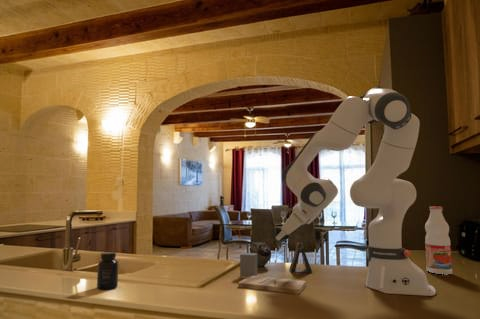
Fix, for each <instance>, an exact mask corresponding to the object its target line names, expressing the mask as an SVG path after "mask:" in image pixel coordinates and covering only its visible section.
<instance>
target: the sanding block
mask: <svg viewBox="0 0 480 319" xmlns="http://www.w3.org/2000/svg"><path fill="white" fill-rule="evenodd" d="M239 257H240V258H239V278H243V279H245V278H247V277H248V276H258V270H257V253H250V252H242V253H240V255H239Z"/></svg>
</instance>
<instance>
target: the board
mask: <svg viewBox="0 0 480 319" xmlns="http://www.w3.org/2000/svg"><path fill="white" fill-rule="evenodd" d="M237 284H238V285H237V288H243V289H251V290H262V291H269V292H277V291H278V292H280V293H288V294H297V295H298V294H299V295H300V294H301V293H302V291H303V290H304V289H305V288H306V286H307V285H308V284H307V280H300V279H289V278H278V277H271V276H270V277H269V276H259V275H257V276H248V277H247V278H243V279H242V280H240V281H239V282H237ZM278 292H277V293H278Z"/></svg>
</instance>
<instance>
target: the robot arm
mask: <svg viewBox="0 0 480 319" xmlns="http://www.w3.org/2000/svg"><path fill="white" fill-rule="evenodd" d="M410 105H411V104H410V102H409V100H408V99H407V98H406V96H405V95H404V94H402V93H399V92H398V91H396V90H393V89H391V88H385V87H378V86H377V87H374V88H371V89H370V90H368V91H367V92H365V93H364V94H362V95H360V96H359V97H358V96H352V95H351V96H348V97H346V98H345V99H344V100H343V101H342V102H341V103H340V104H339V106H338V107H337V108H336V110H334V112H333V114H332V115H331V117H330V118H329V120H328V122H327V123H326V125H325V126H323V128H321V130H317V131H316V132H315V133H313V134H312V136H311V137H310V138H309V139H308V140H307V142H306V143H305V144H304V145H303V147H302V148H301V150H300V151H299V152H298V154H297V155H296V156H295V157H294V159H293V160H292V161H291V162H290V163H289V164H288V165H287V166H286V167H285V168H284V169H283V171H282V174H281V181H282V183H283V185H285V186H286V187H287V188H288V189H290V191H291V192H292V193H293V194H294V195H295V197H297V198H298V200H299V201H298V202H297V203H296V204H295V205H294V206H293V207H292V213H291V214H290V215H289V217H288V218H287V220H286V221H285V222H284V223H283V224H282V226H280V231H279V233H278V234H277V235H276V236H275V239H276V241H278V242H279V241H280V240H281V239H283V238H284V237H285V236H289V235H290V234H292V233H293V232H294V231H295V230H297V229H298V228H299V227H300V226H303V225H306V224H307V225H310V224H311V223H312V222H313V221H314V220H316V218H317V217H318V216H319V215H320V213H321V211H323V210H324V209H325V210H326V209H327V207H328V206H330V204H331V203H332V202H333V201H334V200H335V199H336V197H337V196H338V193H339V189H338V187H337V186H336V184H335V183H334V182H333V181H332V180H331V179H330V178H327V177H324V178H323V179H322V178H318V177H317V178H316V177H314V176H313V175H312V174H311V173H310V172H309V171H308V168H309V166H310V165H311V163H312V162H313V160H314V159H315V158H316V157H317V156H318V154H319V153H320V152H321V151H323V150H328V151H334V152H341V151H346V150H347V149H349V148H350V147H351V146H353V144H354V142H356V140H357V138H358V136H359V134H360V133H361V132H362V129H363V128H364V127H365V126H366V124H367V123H369V122H371V121H373V120H374V121H376V122H379V123H381V124H382V125H384V133H383V134H382V135H383V136H382V138H381V141H380V145H379V148H378V150H377V151H378V152H377V154H376V157H375V160H374V161H373V163H372V164H371V166H370V167H369V168H368V170H367V171H366V172H365V174H364V175H362V176H361V177H360V178H357V179H356V180H354V181H353V183H352V184H351V186H350V189H349V197H350V199H351V201H352V203H353V204H354V205H356V207H361V208H365V209H378V213H377V216H376V217H375V218H373V219H372V220H371V221H370V222H369V224H368V230H367V231H368V246H367V249H366V251H367V260H368V268H367V276H366V281H365V286H366V287H367V288H370V289H372V290H375V291H379V292H381V293H382V294H383V293H384V294H390V295H391V294H392V295H412V296H424V297H425V296H430V297H431V296H435V295H436V293H437V291H436V289H435V287H434V286H433V285H431V284H430V283H429V281H428V277H427V275H426V273H425V271H424V270H423V269H422V268H420V267H419V266H418V265H417V264H415V263H414V262H413V261H412V260H410V259H409V257H410V256H411V252H410V250H407V249H406V248H404V247H402V227H403V222H404V217H405V215H406V213H407V211H408V209H409V208H410V207H411V206H412V205H413V204H414V203H415V201H416V200H417V190H416V187H415V186H414V184H413V183H412V182H410V181H408V180H404V179H400V178H397V177H399V175H402V173H405V172H406V171H407V170H408V169H409V168H410V165H411V162H412V158H413V156H414V152H415V149H416V145H417V143H418V139H419V133H420V124H421V122H420V119H419V118H418V116H416V115H415V114H414V113H412V112H411V106H410Z"/></svg>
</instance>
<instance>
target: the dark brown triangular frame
mask: <svg viewBox="0 0 480 319" xmlns="http://www.w3.org/2000/svg"><path fill="white" fill-rule="evenodd" d="M300 246H301V247H300ZM299 247H300V248H299ZM305 248H306V246H305V245H304V243H302V242H296V243H295V251H294V255H293V257H292V260H291V263H290V267H289V271H290V273H291V274H301V273H302V274H312V273H313V271H312V268H311V264H310V263H309V259H308V257H307V254H306V252H305ZM300 254H301V257H302V261H303V264H304V267H305V268H297V265H298V261H299V257H300Z"/></svg>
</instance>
